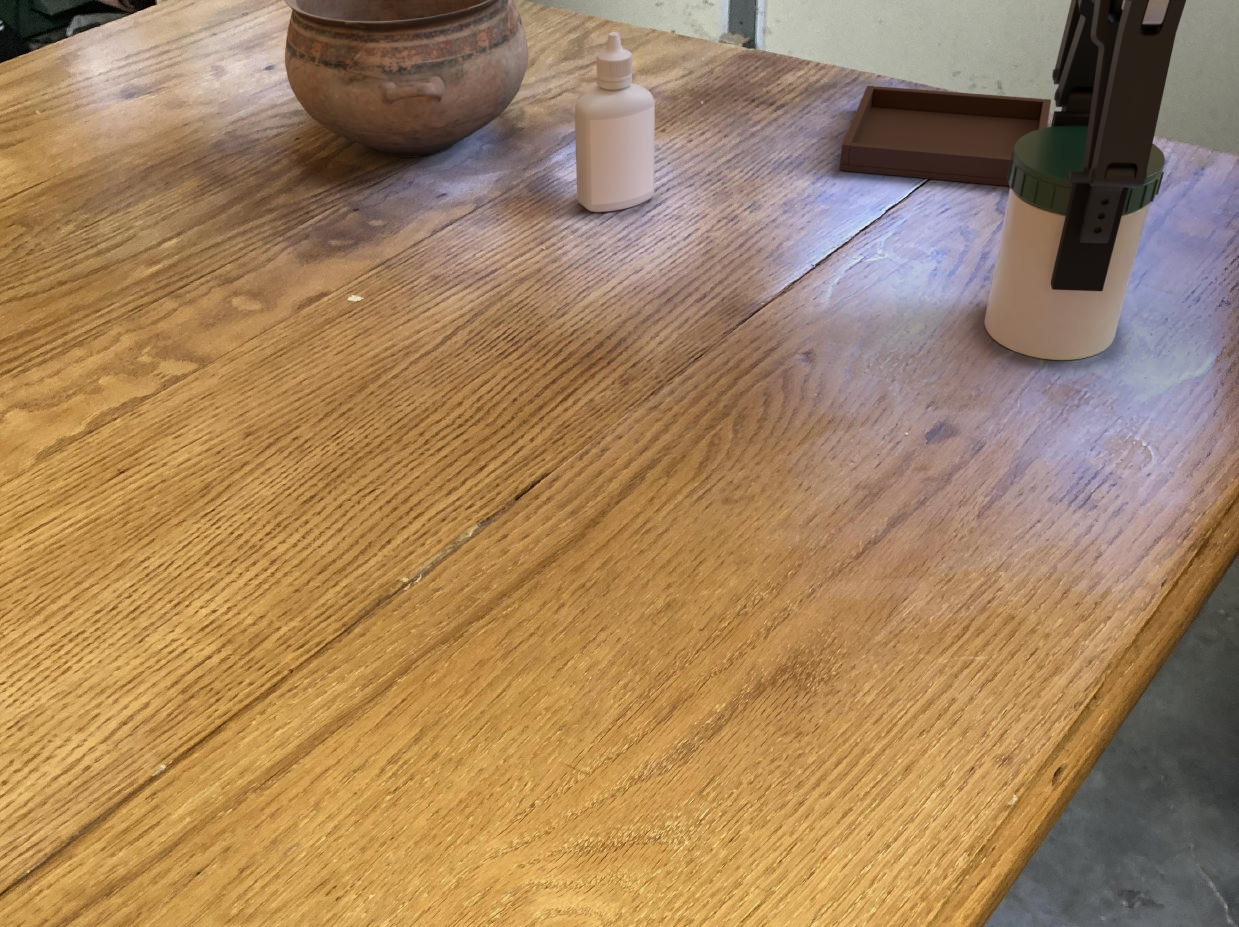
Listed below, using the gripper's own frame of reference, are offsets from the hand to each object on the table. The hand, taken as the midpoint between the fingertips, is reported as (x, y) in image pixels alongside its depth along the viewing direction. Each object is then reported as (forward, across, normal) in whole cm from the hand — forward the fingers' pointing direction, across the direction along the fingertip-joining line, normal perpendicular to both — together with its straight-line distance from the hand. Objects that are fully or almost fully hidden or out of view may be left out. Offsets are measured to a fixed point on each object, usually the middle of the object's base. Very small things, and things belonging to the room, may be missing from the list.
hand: (1065, 251), depth 78 cm
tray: (+5, +27, +4) cm, 28 cm away
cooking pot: (+5, +26, +46) cm, 53 cm away
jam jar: (+5, 0, 0) cm, 5 cm away
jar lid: (-6, 0, 0) cm, 6 cm away
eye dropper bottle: (+5, +16, +29) cm, 33 cm away
